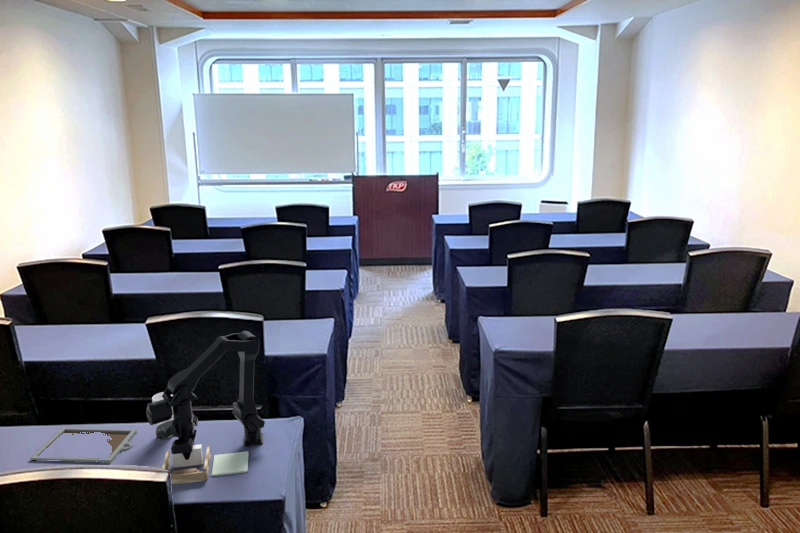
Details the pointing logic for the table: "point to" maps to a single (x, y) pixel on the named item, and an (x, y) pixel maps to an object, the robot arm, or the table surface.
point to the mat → (230, 463)
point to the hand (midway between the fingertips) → (187, 457)
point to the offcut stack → (185, 471)
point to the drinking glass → (158, 398)
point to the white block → (194, 459)
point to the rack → (189, 476)
